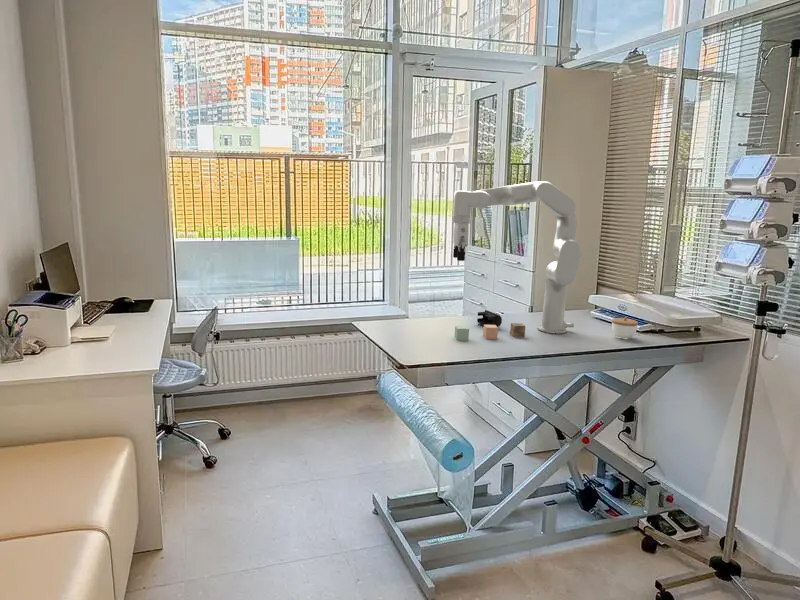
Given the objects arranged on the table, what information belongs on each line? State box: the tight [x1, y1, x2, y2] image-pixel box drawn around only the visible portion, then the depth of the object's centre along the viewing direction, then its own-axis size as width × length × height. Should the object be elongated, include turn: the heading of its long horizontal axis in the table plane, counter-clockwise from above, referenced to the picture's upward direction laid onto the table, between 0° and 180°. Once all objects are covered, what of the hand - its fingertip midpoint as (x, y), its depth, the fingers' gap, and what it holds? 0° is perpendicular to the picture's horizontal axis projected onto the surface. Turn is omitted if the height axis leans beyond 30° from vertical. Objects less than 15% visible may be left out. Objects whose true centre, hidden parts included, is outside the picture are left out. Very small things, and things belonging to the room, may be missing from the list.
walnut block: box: [509, 322, 526, 338], centre depth 258 cm, size 5×5×5 cm
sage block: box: [454, 325, 470, 341], centre depth 249 cm, size 5×5×5 cm
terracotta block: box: [482, 325, 499, 340], centre depth 253 cm, size 5×5×5 cm
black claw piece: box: [476, 309, 503, 328], centre depth 272 cm, size 10×7×7 cm
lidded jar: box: [611, 316, 639, 339], centre depth 262 cm, size 11×11×9 cm
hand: (458, 259), depth 260 cm, fingers open, 9 cm apart
